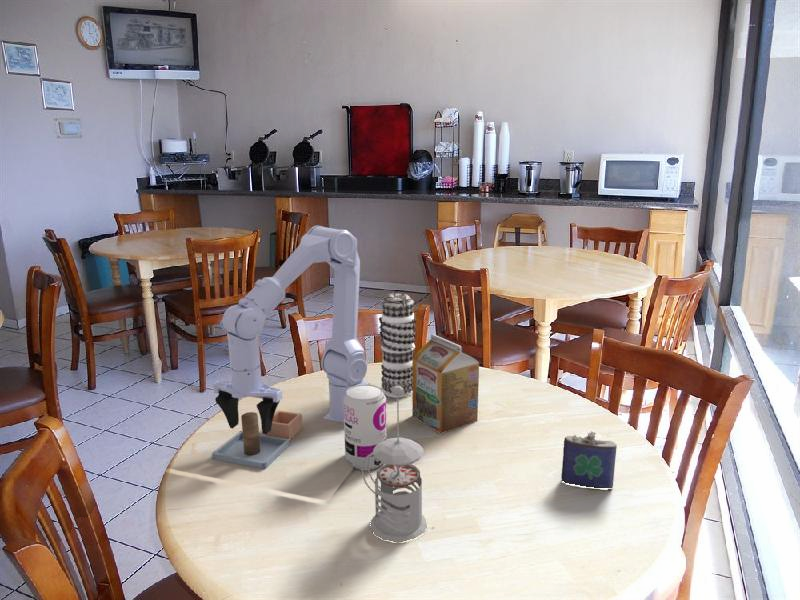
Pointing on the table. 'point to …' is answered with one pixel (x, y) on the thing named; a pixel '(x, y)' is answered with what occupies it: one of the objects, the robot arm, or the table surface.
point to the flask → (588, 461)
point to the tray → (235, 454)
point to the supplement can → (364, 424)
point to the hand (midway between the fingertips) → (250, 429)
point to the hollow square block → (285, 424)
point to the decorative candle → (397, 343)
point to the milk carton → (444, 385)
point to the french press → (397, 487)
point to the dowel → (250, 433)
